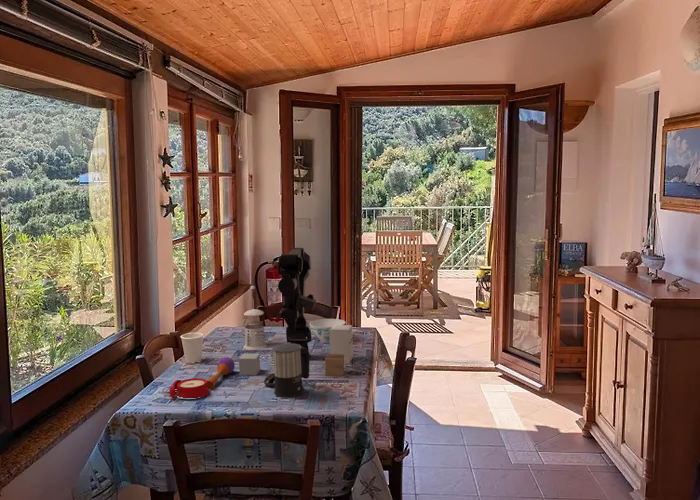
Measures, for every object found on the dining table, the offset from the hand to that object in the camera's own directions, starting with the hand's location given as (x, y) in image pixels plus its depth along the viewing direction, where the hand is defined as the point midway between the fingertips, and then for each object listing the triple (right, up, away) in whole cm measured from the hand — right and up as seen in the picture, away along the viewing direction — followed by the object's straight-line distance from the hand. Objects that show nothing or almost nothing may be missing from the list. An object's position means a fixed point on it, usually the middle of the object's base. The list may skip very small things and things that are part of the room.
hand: (292, 332), depth 217 cm
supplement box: (+17, -12, +10) cm, 23 cm away
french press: (-19, -10, +32) cm, 39 cm away
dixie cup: (-39, -13, +14) cm, 43 cm away
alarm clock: (-31, -17, -23) cm, 42 cm away
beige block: (-15, -14, -2) cm, 20 cm away
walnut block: (+15, -13, -5) cm, 21 cm away
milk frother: (-1, -16, -20) cm, 25 cm away
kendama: (-24, -15, -9) cm, 30 cm away
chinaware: (+11, -9, +38) cm, 41 cm away
